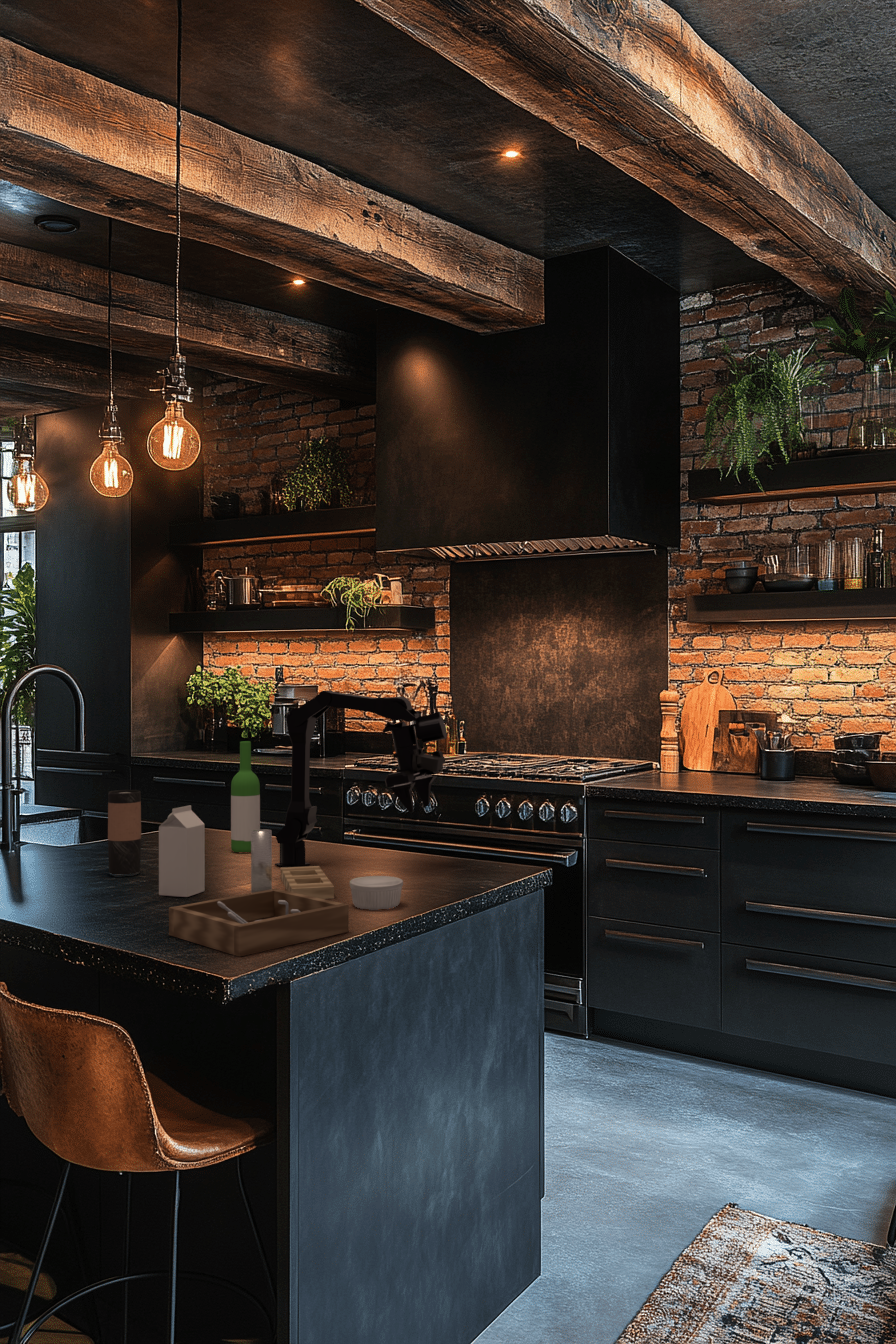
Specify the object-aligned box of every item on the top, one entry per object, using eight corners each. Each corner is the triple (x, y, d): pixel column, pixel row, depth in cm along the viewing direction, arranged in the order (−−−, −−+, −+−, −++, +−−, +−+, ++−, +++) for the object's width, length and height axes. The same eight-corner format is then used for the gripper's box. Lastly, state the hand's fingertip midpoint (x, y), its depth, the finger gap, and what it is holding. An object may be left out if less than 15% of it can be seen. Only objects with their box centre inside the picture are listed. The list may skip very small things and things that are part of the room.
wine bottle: (236, 849, 292) (236, 740, 292) (263, 849, 291) (263, 740, 291) (226, 853, 284) (226, 742, 284) (254, 854, 283) (254, 742, 283)
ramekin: (382, 914, 211) (382, 887, 211) (338, 908, 217) (338, 882, 217) (413, 904, 220) (413, 878, 220) (370, 898, 226) (370, 873, 226)
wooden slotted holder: (280, 878, 249) (280, 867, 249) (318, 876, 251) (318, 865, 251) (291, 900, 223) (291, 888, 223) (334, 898, 226) (334, 886, 226)
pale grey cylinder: (247, 895, 229) (247, 830, 229) (263, 892, 232) (263, 828, 232) (259, 898, 226) (259, 832, 226) (275, 895, 229) (275, 830, 229)
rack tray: (168, 934, 194) (168, 907, 194) (275, 913, 211) (275, 888, 211) (239, 956, 178) (239, 927, 178) (348, 931, 196) (348, 904, 196)
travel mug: (147, 873, 256) (147, 790, 256) (125, 878, 249) (125, 793, 249) (123, 870, 259) (123, 789, 259) (100, 876, 252) (100, 792, 252)
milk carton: (204, 891, 233) (204, 805, 233) (186, 898, 226) (186, 809, 227) (177, 889, 235) (177, 804, 236) (158, 896, 229) (158, 808, 229)
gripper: (419, 744, 248) (433, 810, 247) (450, 737, 265) (463, 798, 264) (378, 753, 252) (391, 817, 252) (411, 745, 270) (424, 805, 269)
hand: (419, 809), depth 259 cm, fingers open, 9 cm apart
